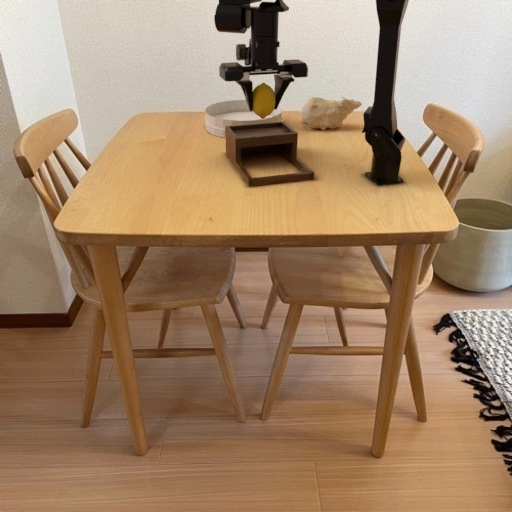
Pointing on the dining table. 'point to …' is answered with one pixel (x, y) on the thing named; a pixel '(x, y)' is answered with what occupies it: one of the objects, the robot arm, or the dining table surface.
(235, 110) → the dish
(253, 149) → the step shelf
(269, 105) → the lemon
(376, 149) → the robot arm
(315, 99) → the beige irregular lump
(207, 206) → the dining table surface
